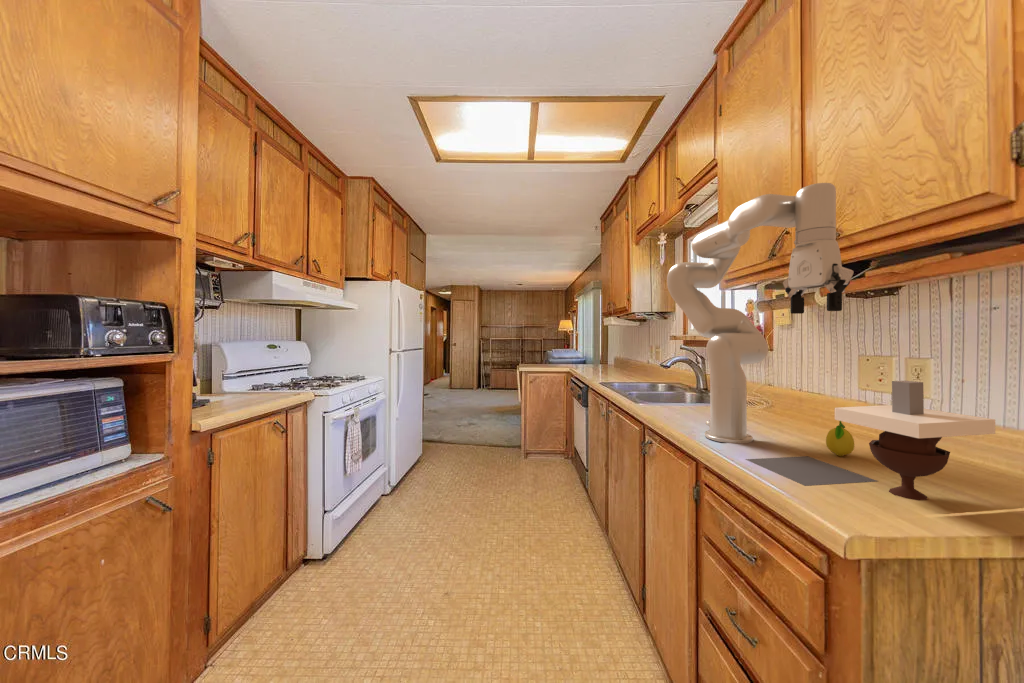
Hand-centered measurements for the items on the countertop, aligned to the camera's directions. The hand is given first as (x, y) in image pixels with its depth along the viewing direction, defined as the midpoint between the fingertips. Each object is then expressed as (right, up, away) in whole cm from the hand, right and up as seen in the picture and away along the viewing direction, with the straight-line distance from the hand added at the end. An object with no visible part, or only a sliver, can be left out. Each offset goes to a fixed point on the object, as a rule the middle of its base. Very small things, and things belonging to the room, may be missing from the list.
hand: (814, 312), depth 91 cm
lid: (+4, -23, -17) cm, 29 cm away
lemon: (+12, -36, +7) cm, 39 cm away
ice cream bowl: (+4, -37, -17) cm, 41 cm away
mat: (-4, -36, -3) cm, 37 cm away
